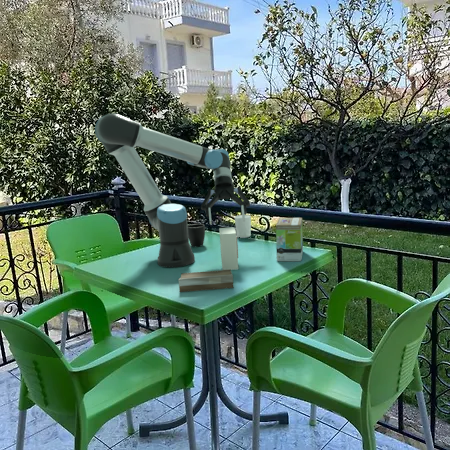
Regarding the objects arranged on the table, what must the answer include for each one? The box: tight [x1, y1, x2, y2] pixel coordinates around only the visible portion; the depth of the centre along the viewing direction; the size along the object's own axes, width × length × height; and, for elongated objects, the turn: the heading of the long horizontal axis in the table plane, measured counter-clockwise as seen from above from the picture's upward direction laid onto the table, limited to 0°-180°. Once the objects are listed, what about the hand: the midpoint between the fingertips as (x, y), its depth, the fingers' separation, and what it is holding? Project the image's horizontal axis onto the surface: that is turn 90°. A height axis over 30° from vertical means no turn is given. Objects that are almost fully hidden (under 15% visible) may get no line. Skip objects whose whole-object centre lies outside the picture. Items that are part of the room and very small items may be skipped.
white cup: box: [234, 214, 252, 239], centre depth 219 cm, size 8×8×10 cm
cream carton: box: [218, 226, 239, 271], centre depth 172 cm, size 6×11×14 cm, turn 2°
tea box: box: [275, 217, 304, 262], centre depth 179 cm, size 15×10×15 cm, turn 168°
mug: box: [187, 223, 206, 248], centre depth 209 cm, size 8×12×10 cm
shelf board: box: [178, 269, 234, 293], centre depth 155 cm, size 14×18×4 cm
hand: (227, 221), depth 181 cm, fingers open, 13 cm apart
